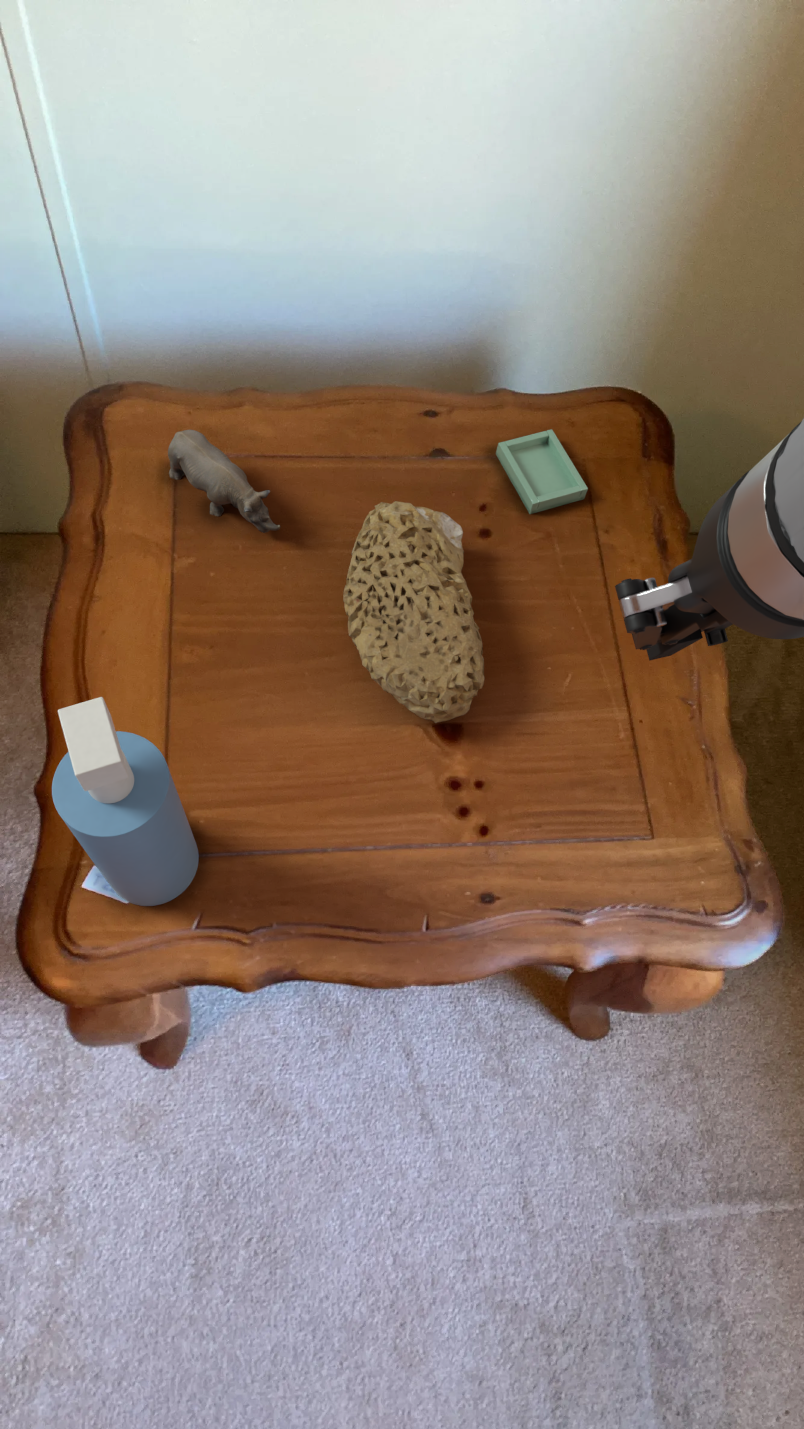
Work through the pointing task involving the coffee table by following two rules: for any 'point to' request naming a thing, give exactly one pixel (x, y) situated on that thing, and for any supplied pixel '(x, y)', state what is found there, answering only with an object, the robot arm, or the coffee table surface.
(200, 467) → the rhino figurine
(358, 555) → the sponge
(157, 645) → the coffee table surface
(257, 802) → the coffee table surface
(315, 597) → the coffee table surface
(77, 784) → the spray bottle
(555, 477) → the soap dish
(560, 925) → the coffee table surface
